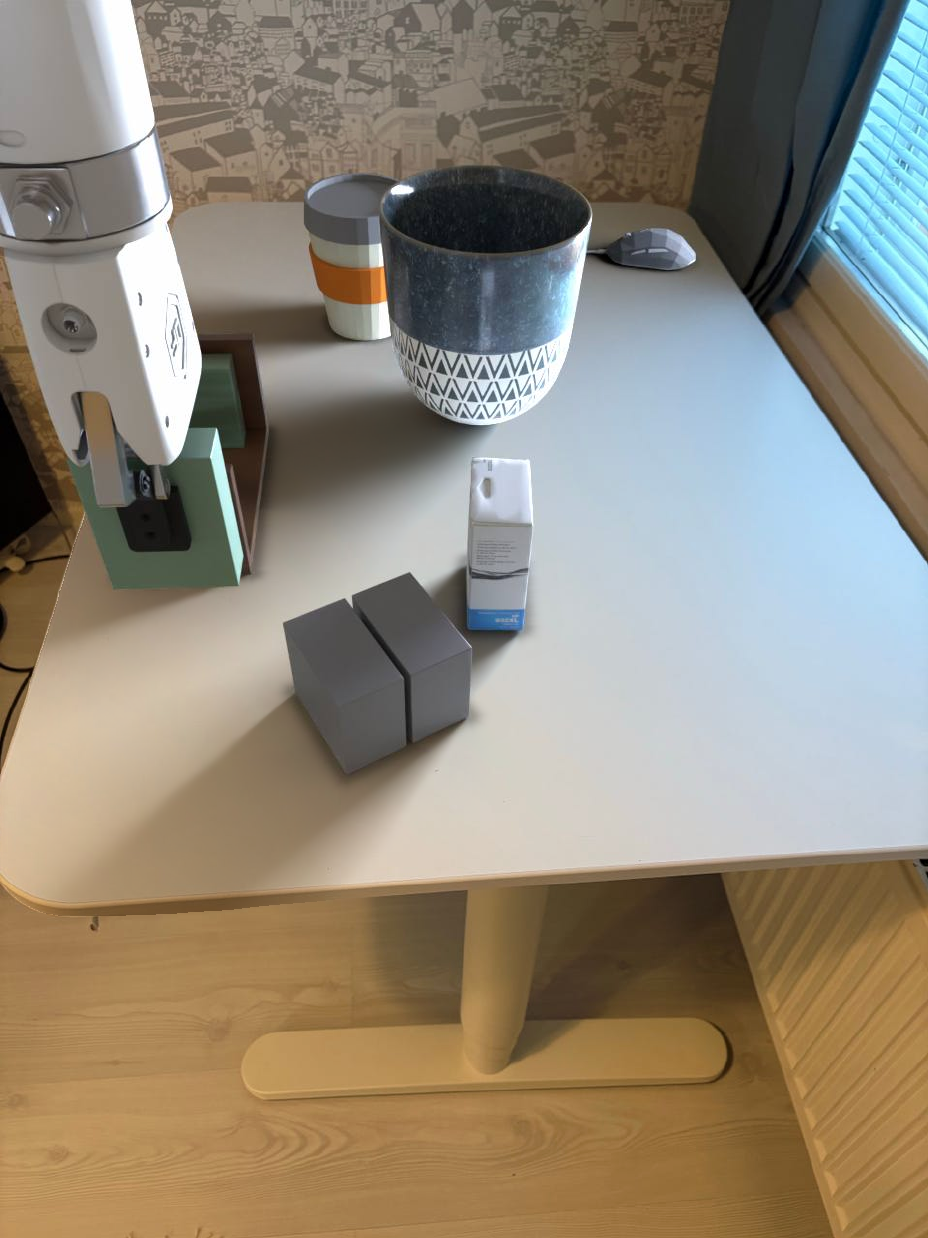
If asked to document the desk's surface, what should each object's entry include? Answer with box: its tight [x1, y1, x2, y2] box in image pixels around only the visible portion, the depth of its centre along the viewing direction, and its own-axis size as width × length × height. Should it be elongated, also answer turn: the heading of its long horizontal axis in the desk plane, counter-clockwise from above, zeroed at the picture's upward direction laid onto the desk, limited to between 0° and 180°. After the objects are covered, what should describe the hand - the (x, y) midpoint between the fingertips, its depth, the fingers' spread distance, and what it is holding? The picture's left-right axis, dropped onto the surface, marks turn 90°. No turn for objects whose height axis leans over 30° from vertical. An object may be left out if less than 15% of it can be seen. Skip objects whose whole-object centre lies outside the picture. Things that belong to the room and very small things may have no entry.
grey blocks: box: [282, 571, 473, 776], centre depth 68 cm, size 10×9×8 cm
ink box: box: [466, 456, 534, 631], centre depth 75 cm, size 8×5×12 cm, turn 179°
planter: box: [378, 164, 593, 426], centre depth 91 cm, size 20×20×21 cm
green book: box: [66, 428, 243, 591], centre depth 49 cm, size 3×7×9 cm, turn 94°
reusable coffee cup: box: [303, 172, 401, 341], centre depth 105 cm, size 13×13×15 cm
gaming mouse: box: [586, 227, 697, 271], centre depth 122 cm, size 6×15×4 cm, turn 82°
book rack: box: [188, 332, 270, 576], centre depth 83 cm, size 21×11×11 cm, turn 4°
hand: (166, 524), depth 50 cm, fingers closed on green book, 2 cm apart
